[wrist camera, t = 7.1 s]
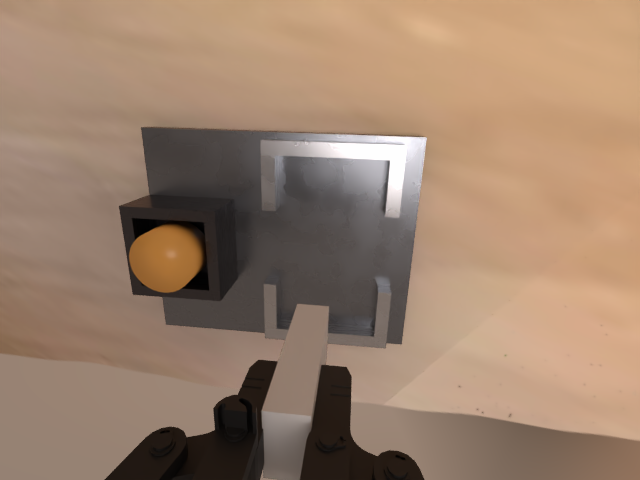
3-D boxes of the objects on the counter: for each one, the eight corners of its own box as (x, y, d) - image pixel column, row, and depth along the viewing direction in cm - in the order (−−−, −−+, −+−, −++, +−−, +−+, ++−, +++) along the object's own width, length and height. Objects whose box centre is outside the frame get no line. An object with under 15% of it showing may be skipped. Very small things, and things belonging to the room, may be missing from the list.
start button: (156, 272, 28) (134, 290, 25) (149, 218, 26) (124, 230, 23) (211, 276, 27) (194, 294, 24) (207, 221, 26) (189, 234, 23)
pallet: (174, 315, 34) (140, 351, 28) (151, 127, 28) (105, 128, 23) (399, 334, 32) (407, 376, 27) (422, 136, 26) (438, 140, 21)
